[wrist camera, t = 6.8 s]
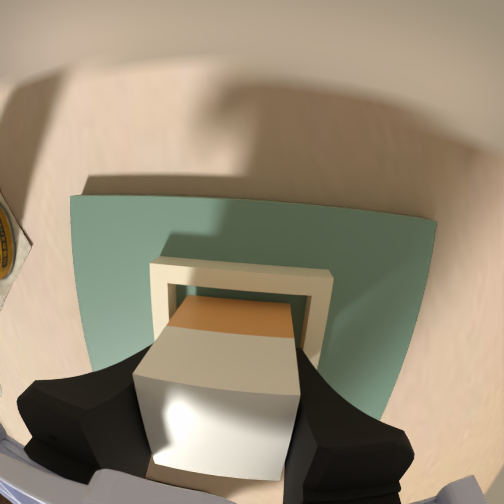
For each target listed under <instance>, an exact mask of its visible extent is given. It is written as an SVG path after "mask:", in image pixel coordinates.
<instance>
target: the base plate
mask: <svg viewBox="0 0 504 504" xmlns="http://www.w3.org/2000/svg"><path fill="white" fill-rule="evenodd" d="M70 216H71V238H72V252H73V263H74V273H75V281H76V289H77V296H78V303H79V309H80V315H81V321H82V326H83V331H84V336H85V341H86V345H87V350H88V354H89V358H90V363H91V366H92V370H93V372H95V371H98V370H101V369H104V368H107V367H109V366H112V365H114V364H116V363H119V362H121V361H123V360H125V359H126V358H128V357H130V356H132V355H134V354H136V353H138V352H139V351H141V350H143V349H144V348H146V347H148V346H149V345H151V344H153V343H154V342H155V341H156V339H157V338H158V336H159V335H160V333H161V332H162V331H163V329H164V328H165V326H166V325H167V323H168V322H169V321H170V319H171V318H172V316H173V315H174V314H175V312H176V311H177V309H178V308H179V307H180V305H181V304H182V302H183V301H184V300H185V298H186V297H187V295H195V296H205V297H215V298H226V299H237V300H248V301H261V302H274V303H289V304H290V308H291V316H292V324H293V333H294V341H295V347H296V348H302V350H303V351H304V353H305V354H306V356H307V357H308V359H309V360H310V362H311V363H312V364H313V366H314V367H315V368H316V370H317V371H318V372H319V373H320V375H321V376H322V377H323V378H324V380H325V381H326V382H327V383H328V384H329V385H330V386H331V387H332V388H333V389H334V390H335V391H336V392H337V393H338V394H339V395H341V396H342V397H343V398H344V399H345V400H347V401H348V402H349V403H351V404H352V405H353V406H355V407H356V408H358V409H359V410H361V411H362V412H364V413H366V414H367V415H369V416H371V417H373V418H375V419H377V420H379V421H380V419H381V416H382V414H383V412H384V410H385V407H386V405H387V403H388V400H389V398H390V396H391V393H392V391H393V388H394V386H395V383H396V381H397V378H398V375H399V373H400V370H401V367H402V364H403V362H404V359H405V356H406V353H407V350H408V347H409V344H410V341H411V337H412V334H413V331H414V328H415V324H416V321H417V317H418V314H419V310H420V306H421V302H422V298H423V294H424V290H425V286H426V281H427V277H428V272H429V267H430V262H431V257H432V251H433V246H434V240H435V233H436V226H437V221H434V220H431V219H428V218H421V217H415V216H408V215H400V214H393V213H385V212H378V211H370V210H361V209H353V208H344V207H334V206H325V205H314V204H304V203H292V202H280V201H267V200H253V199H238V198H220V197H200V196H173V195H123V194H93V195H75V196H70Z"/></svg>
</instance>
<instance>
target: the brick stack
mask: <svg viewBox="0 0 504 504" xmlns="http://www.w3.org/2000/svg"><path fill="white" fill-rule="evenodd" d="M133 379H134V384H135V389H136V394H137V398H138V403H139V407H140V411H141V415H142V419H143V423H144V427H145V431H146V435H147V438H148V442H149V445H150V449H151V452H152V455H153V459H154V462H155V464H159V465H163V466H167V467H172V468H176V469H181V470H186V471H192V472H197V473H203V474H209V475H216V476H224V477H232V478H242V479H254V480H272V481H280V478H281V474H282V470H283V467H284V463H285V459H286V455H287V451H288V447H289V443H290V439H291V435H292V431H293V427H294V422H295V418H296V413H297V409H298V404H299V400H300V386H299V376H298V367H297V358H296V350H295V341H294V333H293V324H292V316H291V308H290V304H289V303H274V302H261V301H248V300H237V299H226V298H215V297H205V296H195V295H187V297H186V298H185V300H184V301H183V302H182V304H181V305H180V307H179V308H178V309H177V311H176V312H175V314H174V315H173V316H172V318H171V319H170V321H169V322H168V323H167V325H166V326H165V328H164V329H163V331H162V332H161V333H160V335H159V336H158V338H157V339H156V341H155V342H154V343H153V345H152V346H151V348H150V349H149V351H148V352H147V353H146V355H145V356H144V358H143V359H142V361H141V362H140V364H139V365H138V366H137V368H136V369H135V371H134V372H133Z"/></svg>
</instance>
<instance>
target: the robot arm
mask: <svg viewBox="0 0 504 504" xmlns="http://www.w3.org/2000/svg"><path fill="white" fill-rule="evenodd" d="M152 345H153V344H151V345H149V346H148V347H146V348H144V349H143V350H141V351H139V352H138V353H136V354H134V355H132V356H130V357H128V358H126V359H125V360H123V361H121V362H119V363H116V364H114V365H112V366H109V367H107V368H104V369H101V370H98V371H95V372H91V373H88V374H84V375H80V376H75V377H70V378H63V379H54V380H35V381H34V382H33V383H32V384H31V385H30V386H29V387H28V388H27V389H26V390H25V391H24V392H23V393H22V394H21V395H20V396H19V397H18V399H17V407H18V410H19V413H20V415H21V417H22V419H23V421H24V423H25V425H26V426H27V428H28V430H29V432H30V433H31V435H32V438H31V440H30V441H29V442H28V443H27V445H26V446H24V445H22V444H21V443H19V442H17V441H16V440H14V439H13V438H11V437H10V436H8V435H7V433H6V431H5V429H4V428H3V426H2V425H1V423H0V493H1V494H2V495H3V496H4V497H6V498H7V499H8V500H10V501H11V502H12V503H13V504H236V503H234V502H232V501H230V500H228V499H226V498H224V497H222V496H217V495H213V494H209V493H206V492H200V491H195V490H189V489H184V488H179V487H175V486H170V485H166V484H162V483H158V482H154V481H150V480H147V479H145V476H146V472H147V468H148V464H149V461H150V457H151V454H152V452H151V449H150V445H149V442H148V438H147V435H146V431H145V427H144V423H143V419H142V415H141V411H140V407H139V403H138V398H137V394H136V389H135V384H134V379H133V372H134V371H135V369H136V368H137V366H138V365H139V364H140V362H141V361H142V359H143V358H144V356H145V355H146V353H147V352H148V351H149V349H150V348H151V346H152ZM295 350H296V358H297V367H298V376H299V386H300V400H299V404H298V409H297V413H296V418H295V422H294V427H293V431H292V435H291V439H290V443H289V447H288V451H287V455H286V459H285V473H284V495H283V504H401V501H400V498H399V494H398V492H400V491H401V486H400V483H399V480H400V479H401V478H402V476H403V475H404V474H405V472H406V471H407V470H408V468H409V467H410V465H411V463H412V462H413V460H414V451H413V449H412V446H411V444H410V441H409V439H408V437H407V436H406V434H405V432H404V431H403V430H400V429H398V428H395V427H393V426H390V425H388V424H385V423H383V422H381V421H379V420H377V419H375V418H373V417H371V416H369V415H367V414H366V413H364V412H362V411H361V410H359V409H358V408H356V407H355V406H353V405H352V404H351V403H349V402H348V401H347V400H345V399H344V398H343V397H342V396H341V395H339V394H338V393H337V392H336V391H335V390H334V389H333V388H332V387H331V386H330V385H329V384H328V383H327V382H326V381H325V380H324V378H323V377H322V376H321V375H320V373H319V372H318V371H317V370H316V368H315V367H314V366H313V364H312V363H311V362H310V360H309V359H308V357H307V356H306V354H305V353H304V351H303V350H302V348H296V347H295ZM410 504H488V503H487V501H486V499H485V497H484V495H483V493H482V491H481V489H480V487H479V484H478V482H477V480H476V478H475V477H474V475H470V476H467V477H465V478H462V479H459V480H457V481H454V482H451V483H449V484H448V485H446V486H445V487H443V488H442V489H441V490H440V491H439V492H438V494H437V495H436V496H434V497H431V498H428V499H424V500H421V501H417V502H414V503H410Z"/></svg>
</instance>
